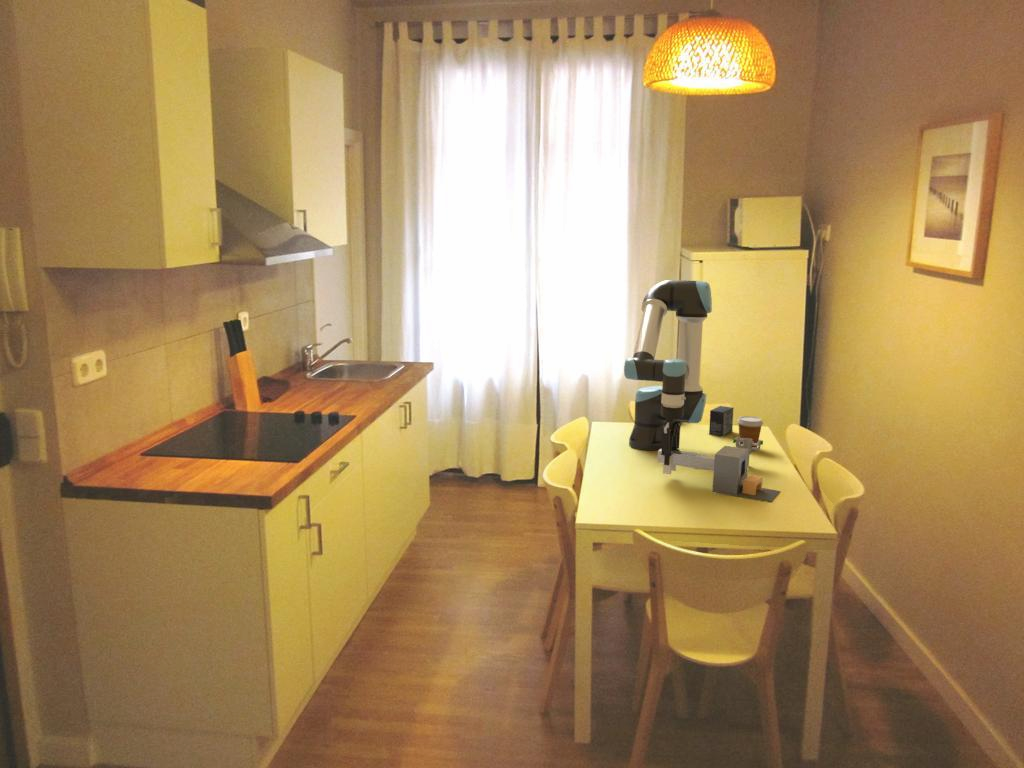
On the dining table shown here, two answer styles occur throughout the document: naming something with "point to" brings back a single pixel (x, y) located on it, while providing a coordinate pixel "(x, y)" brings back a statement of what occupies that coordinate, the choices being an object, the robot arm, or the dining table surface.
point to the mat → (761, 495)
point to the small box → (721, 421)
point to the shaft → (689, 459)
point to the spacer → (752, 484)
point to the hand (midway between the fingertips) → (669, 471)
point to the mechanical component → (747, 444)
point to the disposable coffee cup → (750, 428)
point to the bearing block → (730, 470)
